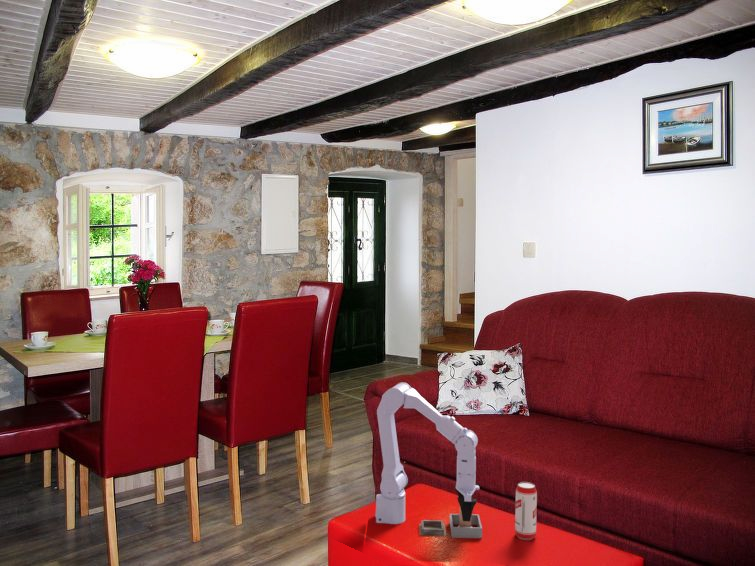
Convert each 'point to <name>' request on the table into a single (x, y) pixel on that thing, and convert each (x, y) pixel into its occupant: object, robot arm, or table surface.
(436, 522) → the square framed plate
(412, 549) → the table surface
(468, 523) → the peach cylinder
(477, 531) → the bin
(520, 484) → the beer can
